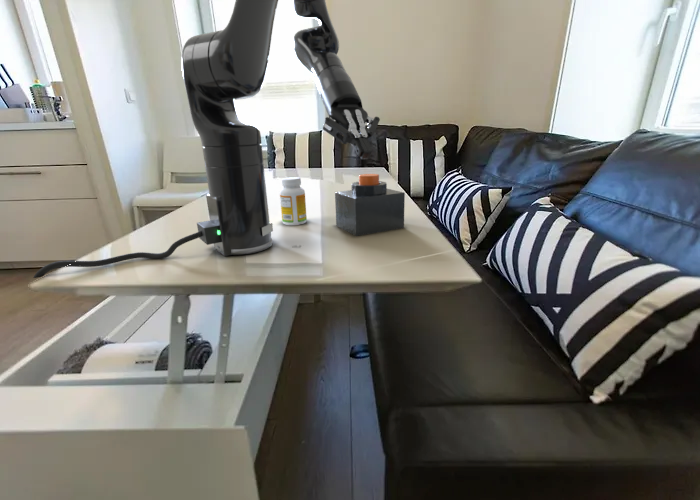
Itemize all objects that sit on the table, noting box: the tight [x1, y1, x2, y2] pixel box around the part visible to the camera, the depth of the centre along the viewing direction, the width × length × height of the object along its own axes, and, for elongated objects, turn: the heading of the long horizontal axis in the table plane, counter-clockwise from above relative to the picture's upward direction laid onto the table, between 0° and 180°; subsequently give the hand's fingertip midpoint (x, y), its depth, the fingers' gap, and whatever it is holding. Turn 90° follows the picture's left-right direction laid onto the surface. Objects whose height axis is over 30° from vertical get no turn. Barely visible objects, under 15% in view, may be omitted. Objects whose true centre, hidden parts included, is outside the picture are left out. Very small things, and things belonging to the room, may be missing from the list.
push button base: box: [334, 180, 406, 237], centre depth 72 cm, size 11×9×9 cm
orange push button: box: [358, 173, 380, 185], centre depth 71 cm, size 4×4×2 cm
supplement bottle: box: [279, 176, 308, 226], centre depth 78 cm, size 5×5×10 cm
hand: (366, 156), depth 70 cm, fingers closed
